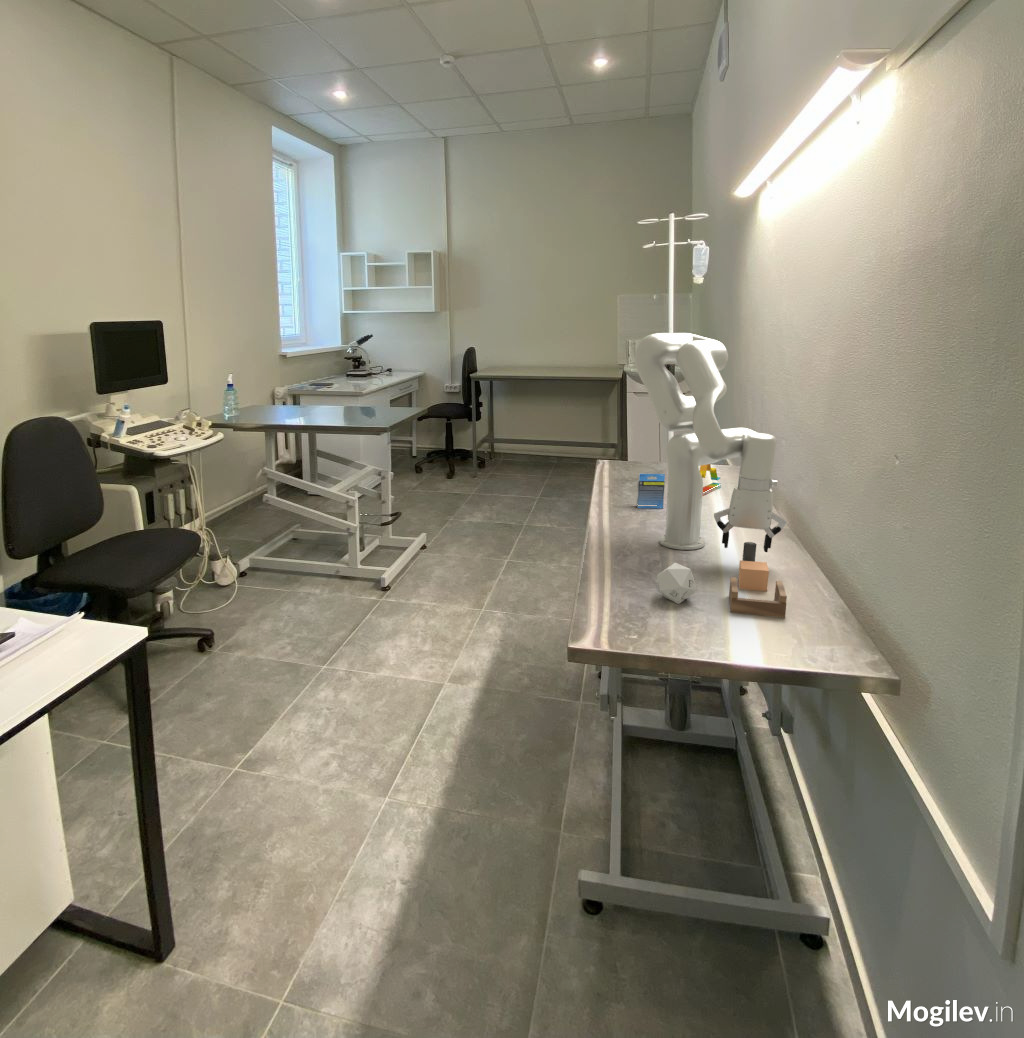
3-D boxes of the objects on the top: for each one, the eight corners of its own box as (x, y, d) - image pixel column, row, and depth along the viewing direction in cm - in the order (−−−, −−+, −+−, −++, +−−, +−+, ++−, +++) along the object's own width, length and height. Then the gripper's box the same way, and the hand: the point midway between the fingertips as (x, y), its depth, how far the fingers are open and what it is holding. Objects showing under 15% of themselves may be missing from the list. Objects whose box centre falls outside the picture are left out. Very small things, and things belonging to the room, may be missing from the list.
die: (657, 608, 144) (685, 580, 139) (642, 579, 150) (669, 551, 144) (683, 614, 148) (711, 587, 143) (668, 585, 154) (694, 558, 149)
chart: (688, 503, 232) (690, 462, 228) (679, 502, 234) (682, 461, 230) (721, 488, 255) (723, 450, 251) (713, 487, 257) (715, 449, 253)
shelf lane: (729, 595, 149) (730, 576, 147) (779, 600, 146) (781, 581, 145) (730, 612, 140) (732, 592, 138) (784, 617, 137) (787, 597, 136)
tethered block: (735, 563, 170) (737, 541, 168) (760, 565, 168) (762, 542, 167) (739, 589, 153) (741, 564, 151) (766, 591, 151) (769, 566, 149)
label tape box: (662, 506, 228) (663, 471, 225) (663, 509, 224) (665, 473, 221) (636, 505, 229) (637, 471, 226) (637, 508, 225) (638, 473, 222)
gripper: (789, 483, 163) (780, 547, 169) (717, 477, 168) (710, 540, 173) (793, 490, 156) (783, 557, 162) (718, 484, 161) (710, 549, 166)
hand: (745, 548), depth 167 cm, fingers open, 9 cm apart
